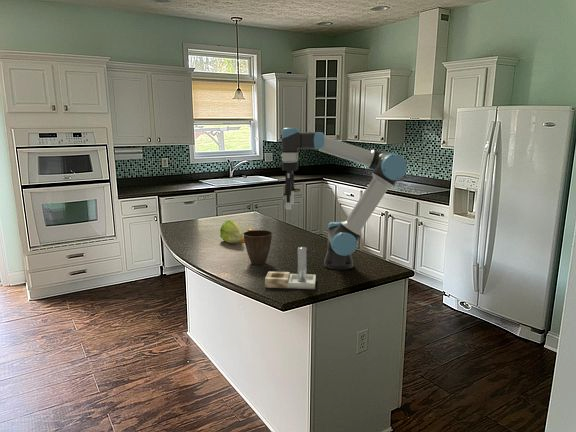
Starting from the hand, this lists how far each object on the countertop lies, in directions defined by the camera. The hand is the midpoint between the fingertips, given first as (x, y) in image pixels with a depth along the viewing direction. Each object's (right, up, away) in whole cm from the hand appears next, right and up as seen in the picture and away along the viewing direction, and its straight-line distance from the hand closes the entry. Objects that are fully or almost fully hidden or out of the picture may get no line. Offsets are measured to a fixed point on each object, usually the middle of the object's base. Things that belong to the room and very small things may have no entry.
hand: (289, 206), depth 202 cm
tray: (+6, -35, -9) cm, 37 cm away
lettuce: (-34, -21, +59) cm, 71 cm away
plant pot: (-16, -29, +22) cm, 40 cm away
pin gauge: (+6, -34, -9) cm, 36 cm away
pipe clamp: (-28, -20, +67) cm, 75 cm away
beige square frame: (-6, -35, -9) cm, 37 cm away
